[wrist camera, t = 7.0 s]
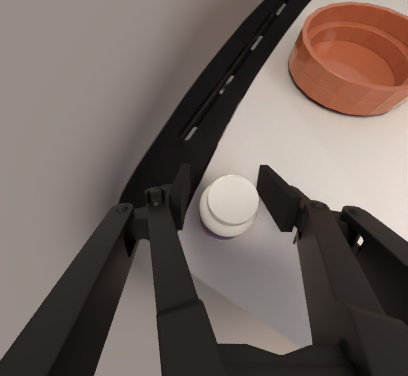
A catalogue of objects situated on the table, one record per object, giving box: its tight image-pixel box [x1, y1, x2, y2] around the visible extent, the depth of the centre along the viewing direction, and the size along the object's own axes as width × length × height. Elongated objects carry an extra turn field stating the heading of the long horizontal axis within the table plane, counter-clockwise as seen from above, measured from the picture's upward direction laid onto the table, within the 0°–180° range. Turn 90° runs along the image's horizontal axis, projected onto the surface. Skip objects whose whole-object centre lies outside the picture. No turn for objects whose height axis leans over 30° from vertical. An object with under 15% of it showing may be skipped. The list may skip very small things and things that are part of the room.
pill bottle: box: [199, 175, 259, 241], centre depth 15 cm, size 5×5×8 cm
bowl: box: [289, 2, 408, 116], centre depth 25 cm, size 17×17×4 cm
